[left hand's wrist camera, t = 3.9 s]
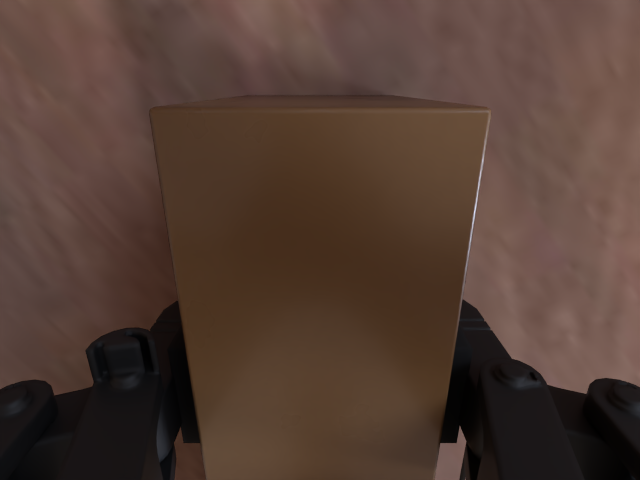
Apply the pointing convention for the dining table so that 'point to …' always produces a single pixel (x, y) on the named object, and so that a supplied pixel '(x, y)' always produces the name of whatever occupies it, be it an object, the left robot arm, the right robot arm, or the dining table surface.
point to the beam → (320, 276)
